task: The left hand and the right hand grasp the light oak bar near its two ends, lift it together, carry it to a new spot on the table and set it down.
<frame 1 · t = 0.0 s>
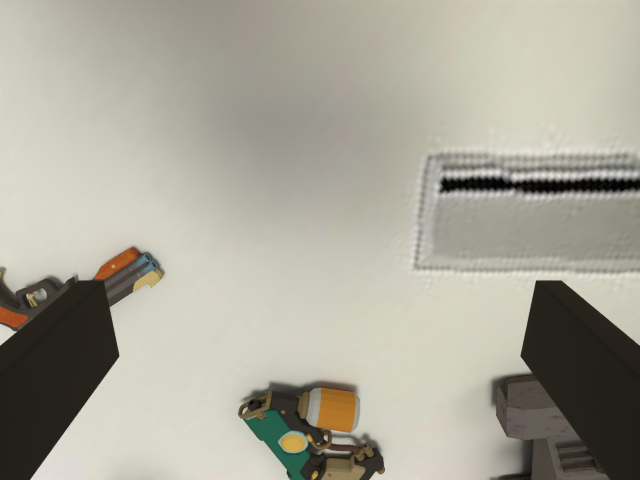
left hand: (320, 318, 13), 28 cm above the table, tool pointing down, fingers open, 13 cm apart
toy gun: (68, 281, 44), on the table
toy: (594, 430, 51), on the table
spray gun: (315, 430, 51), on the table
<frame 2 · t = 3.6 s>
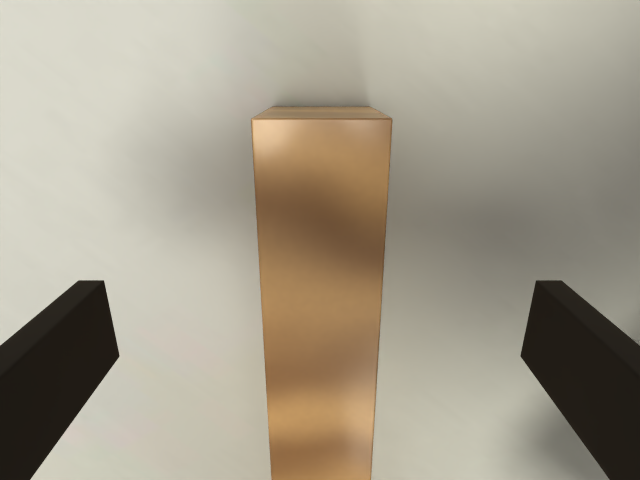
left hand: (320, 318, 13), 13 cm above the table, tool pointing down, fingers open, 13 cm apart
bar: (320, 441, 31), on the table, touching right hand
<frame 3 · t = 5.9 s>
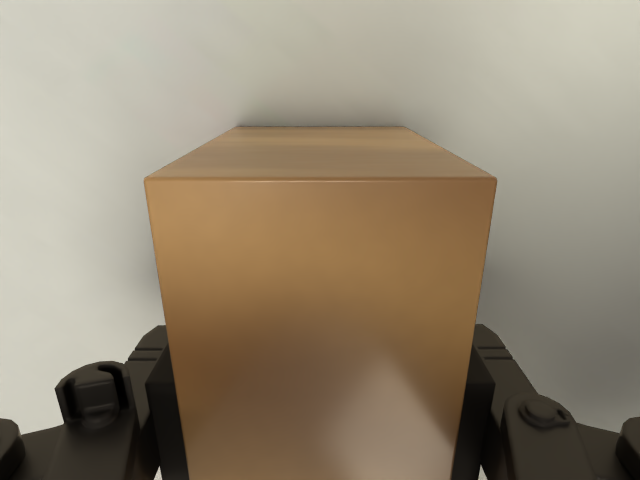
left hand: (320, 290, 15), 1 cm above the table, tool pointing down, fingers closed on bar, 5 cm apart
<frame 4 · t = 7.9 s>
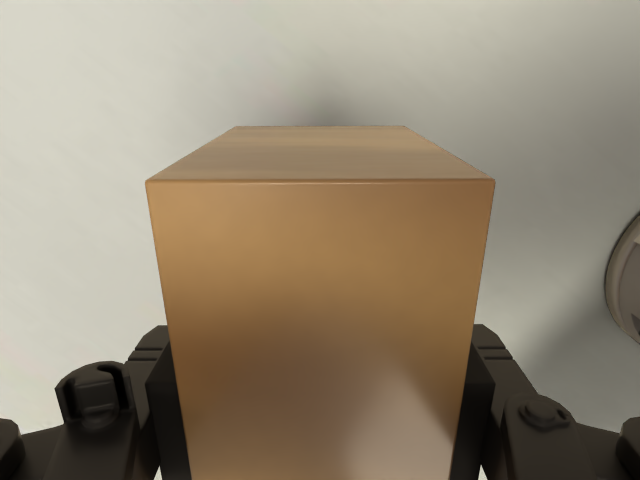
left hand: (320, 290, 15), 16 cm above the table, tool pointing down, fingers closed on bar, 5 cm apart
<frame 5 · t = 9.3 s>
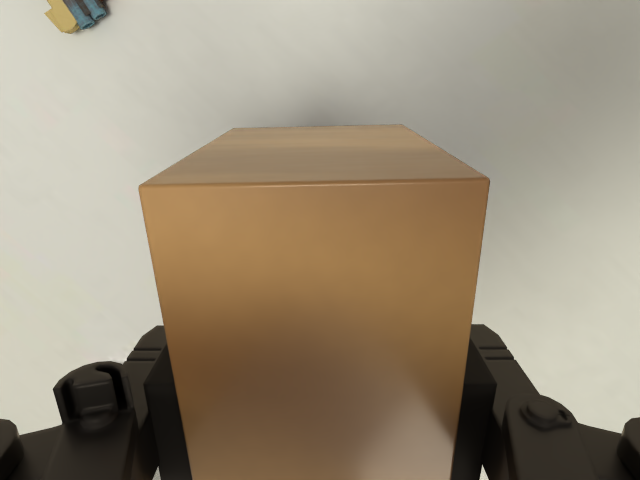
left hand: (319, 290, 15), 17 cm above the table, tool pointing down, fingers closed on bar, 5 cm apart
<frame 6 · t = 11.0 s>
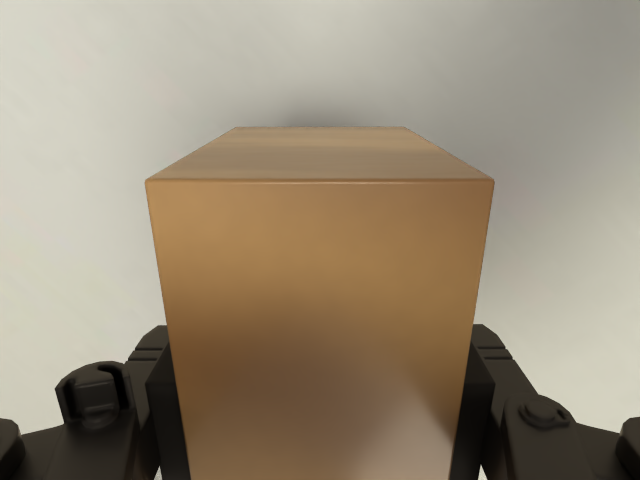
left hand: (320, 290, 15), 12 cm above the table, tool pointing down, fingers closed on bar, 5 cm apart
when the left hand's fingers open (2 cm above the table, at t = 12.6 s): bar drops 2 cm, on the table.
when the right hand's fingers open (2 cm above the table, at t = 12.6 s): bar drops 2 cm, on the table.
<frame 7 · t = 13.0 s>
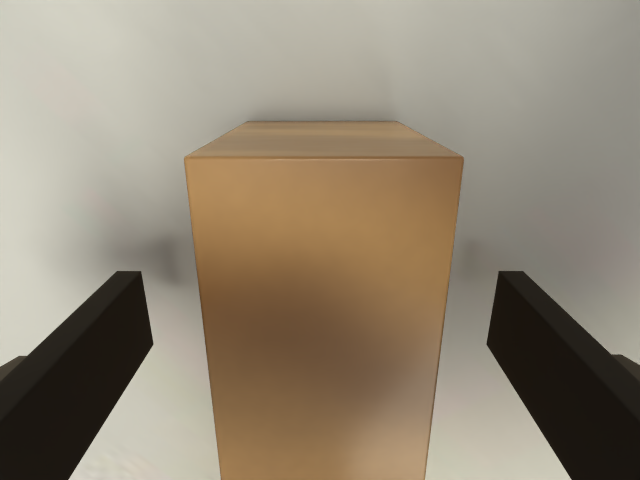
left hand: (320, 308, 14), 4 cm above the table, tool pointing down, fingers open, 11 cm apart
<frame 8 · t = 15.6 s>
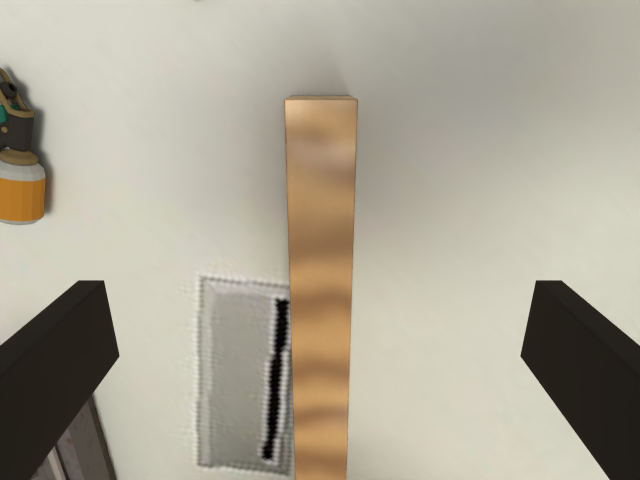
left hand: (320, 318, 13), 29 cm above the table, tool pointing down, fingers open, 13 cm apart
bar: (320, 325, 46), on the table
toy: (25, 431, 52), on the table
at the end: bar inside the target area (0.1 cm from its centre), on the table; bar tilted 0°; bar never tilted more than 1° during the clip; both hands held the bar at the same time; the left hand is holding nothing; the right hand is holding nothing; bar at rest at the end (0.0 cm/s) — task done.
